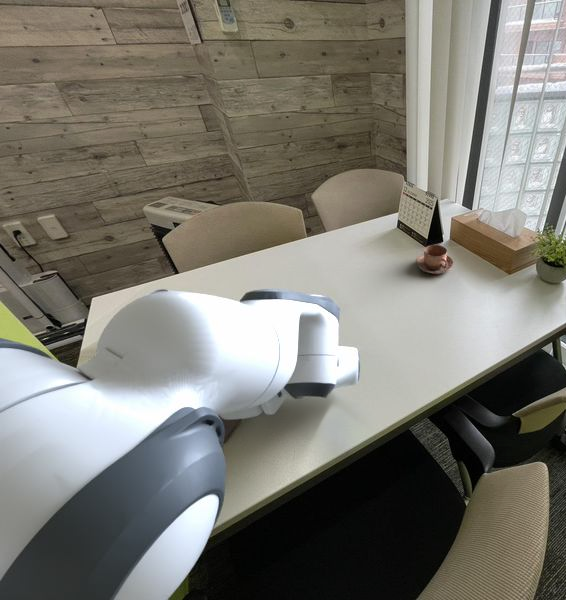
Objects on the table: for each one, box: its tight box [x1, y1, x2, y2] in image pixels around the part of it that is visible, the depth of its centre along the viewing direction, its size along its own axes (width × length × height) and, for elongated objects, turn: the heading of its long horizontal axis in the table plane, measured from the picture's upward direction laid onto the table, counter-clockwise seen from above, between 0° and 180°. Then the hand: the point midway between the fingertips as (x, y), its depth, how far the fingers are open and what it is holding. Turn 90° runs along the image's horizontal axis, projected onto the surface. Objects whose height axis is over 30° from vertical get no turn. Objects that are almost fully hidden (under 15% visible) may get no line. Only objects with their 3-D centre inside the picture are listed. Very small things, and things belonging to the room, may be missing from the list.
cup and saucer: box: [416, 244, 454, 275], centre depth 106 cm, size 12×12×6 cm
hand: (211, 371), depth 65 cm, fingers open, 4 cm apart
